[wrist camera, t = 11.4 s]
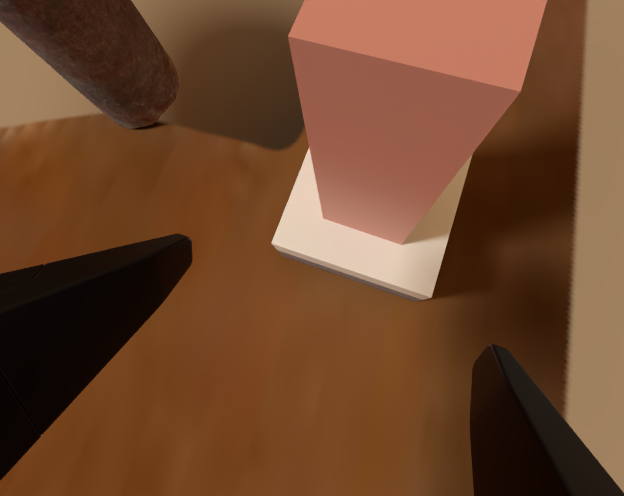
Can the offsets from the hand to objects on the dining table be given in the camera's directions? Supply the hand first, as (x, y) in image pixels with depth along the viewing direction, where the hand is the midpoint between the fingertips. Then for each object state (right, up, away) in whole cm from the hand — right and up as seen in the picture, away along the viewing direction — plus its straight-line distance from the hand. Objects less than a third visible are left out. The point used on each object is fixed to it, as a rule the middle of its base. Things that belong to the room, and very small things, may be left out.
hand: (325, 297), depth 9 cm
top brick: (+3, +5, +11) cm, 12 cm away
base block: (+4, +4, +14) cm, 15 cm away
